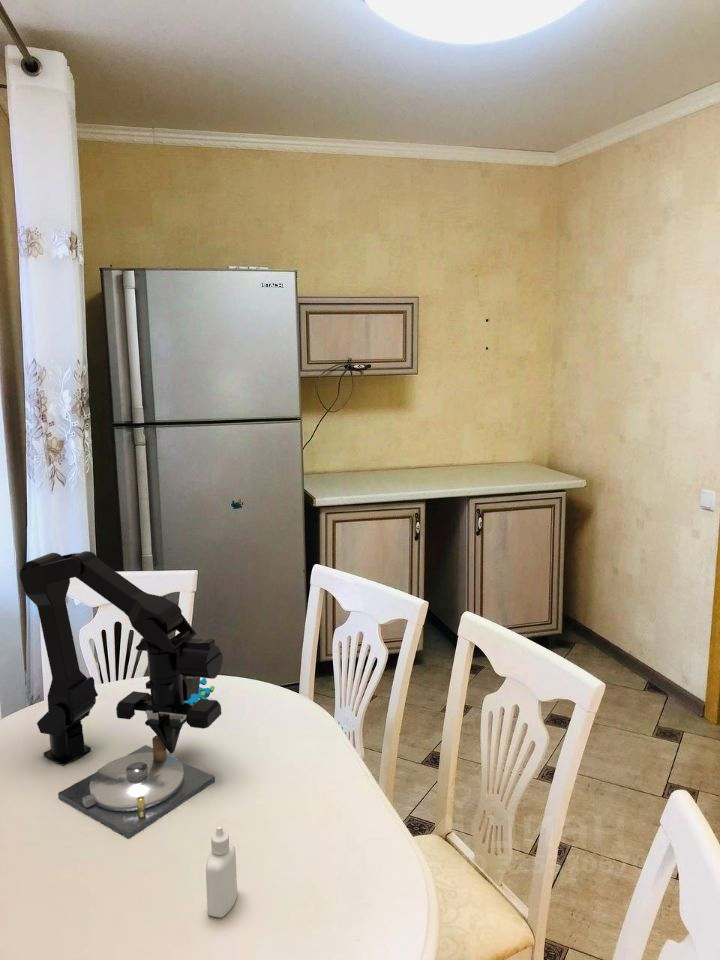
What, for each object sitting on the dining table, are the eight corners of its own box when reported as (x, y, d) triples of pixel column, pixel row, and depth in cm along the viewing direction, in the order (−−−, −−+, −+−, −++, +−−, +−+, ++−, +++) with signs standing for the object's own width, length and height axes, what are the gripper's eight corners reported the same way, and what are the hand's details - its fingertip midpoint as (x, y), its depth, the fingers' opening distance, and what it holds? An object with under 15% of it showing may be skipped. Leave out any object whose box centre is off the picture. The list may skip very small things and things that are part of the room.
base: (58, 798, 127) (56, 777, 126) (145, 749, 142) (144, 730, 141) (128, 838, 116) (127, 816, 115) (214, 781, 132) (214, 761, 131)
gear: (164, 714, 153) (163, 669, 158) (160, 723, 157) (159, 679, 163) (216, 711, 157) (214, 667, 162) (211, 721, 161) (209, 677, 167)
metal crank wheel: (63, 796, 125) (60, 768, 124) (141, 749, 140) (140, 724, 139) (126, 827, 117) (124, 798, 116) (202, 774, 131) (201, 748, 131)
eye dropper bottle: (197, 906, 102) (193, 830, 100) (229, 885, 106) (226, 811, 104) (215, 923, 99) (212, 844, 97) (248, 900, 103) (245, 824, 101)
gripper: (232, 659, 136) (237, 736, 139) (145, 651, 141) (152, 725, 144) (203, 684, 126) (209, 767, 128) (110, 675, 131) (118, 754, 133)
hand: (172, 752), depth 134 cm, fingers closed
